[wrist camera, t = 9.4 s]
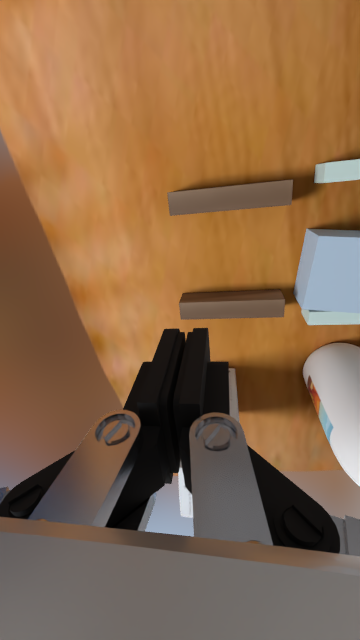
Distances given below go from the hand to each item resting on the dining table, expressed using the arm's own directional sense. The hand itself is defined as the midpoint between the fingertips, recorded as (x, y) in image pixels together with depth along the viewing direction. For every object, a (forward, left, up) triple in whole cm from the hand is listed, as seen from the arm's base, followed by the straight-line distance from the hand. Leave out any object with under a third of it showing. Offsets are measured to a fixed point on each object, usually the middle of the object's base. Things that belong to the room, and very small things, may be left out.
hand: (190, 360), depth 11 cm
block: (+3, +12, -22) cm, 26 cm away
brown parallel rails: (+1, +2, -22) cm, 22 cm away
